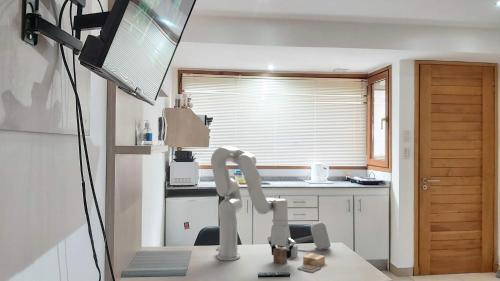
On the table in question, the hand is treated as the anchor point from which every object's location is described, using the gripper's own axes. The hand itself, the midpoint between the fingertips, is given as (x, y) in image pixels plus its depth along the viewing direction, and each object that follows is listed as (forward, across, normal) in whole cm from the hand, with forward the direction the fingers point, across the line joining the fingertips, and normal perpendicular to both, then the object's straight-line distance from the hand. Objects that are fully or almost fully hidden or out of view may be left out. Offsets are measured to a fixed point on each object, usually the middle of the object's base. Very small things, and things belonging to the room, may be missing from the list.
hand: (281, 256), depth 187 cm
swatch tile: (+4, +16, +1) cm, 17 cm away
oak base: (+4, +13, +10) cm, 17 cm away
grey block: (+3, -3, +13) cm, 13 cm away
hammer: (+4, -7, +30) cm, 31 cm away
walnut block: (+3, -1, 0) cm, 3 cm away
